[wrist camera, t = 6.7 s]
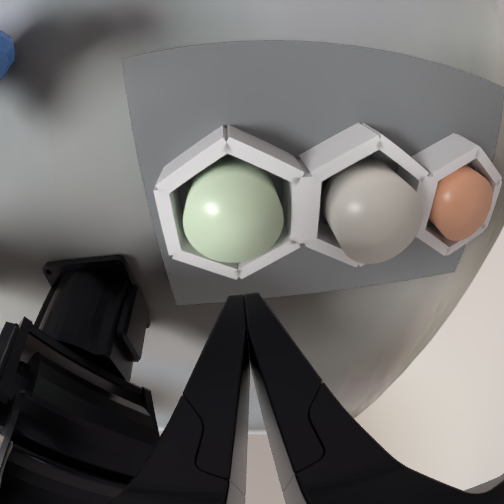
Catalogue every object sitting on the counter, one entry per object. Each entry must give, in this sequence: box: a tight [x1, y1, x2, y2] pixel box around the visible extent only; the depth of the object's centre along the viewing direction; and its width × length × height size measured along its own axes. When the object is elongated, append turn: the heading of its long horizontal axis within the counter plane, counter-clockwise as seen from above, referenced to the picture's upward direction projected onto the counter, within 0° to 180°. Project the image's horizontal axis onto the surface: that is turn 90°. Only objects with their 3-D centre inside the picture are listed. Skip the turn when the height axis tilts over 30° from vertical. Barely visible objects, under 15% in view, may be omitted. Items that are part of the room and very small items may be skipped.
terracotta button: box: [429, 165, 492, 241], centre depth 13 cm, size 4×4×2 cm
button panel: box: [122, 40, 504, 306], centre depth 14 cm, size 20×14×4 cm
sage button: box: [183, 155, 284, 263], centre depth 13 cm, size 4×4×2 cm
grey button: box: [322, 158, 423, 264], centre depth 12 cm, size 4×4×2 cm
